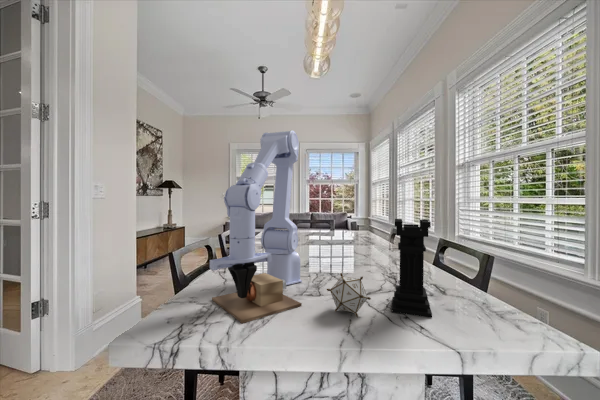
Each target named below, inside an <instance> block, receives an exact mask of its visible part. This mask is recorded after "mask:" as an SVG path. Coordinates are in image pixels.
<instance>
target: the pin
mask: <svg viewBox="0 0 600 400" xmlns="http://www.w3.org/2000/svg"><path fill="white" fill-rule="evenodd" d="M281 280H283V290H285V289H286V288H287V285H286V282H285V280H284V279H281ZM255 298H256V288H255V285H254V284H253V283H252V282H251V283H250V286H249V289H248V293H247V297H246V299H247V301H253V300H255Z"/></svg>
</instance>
